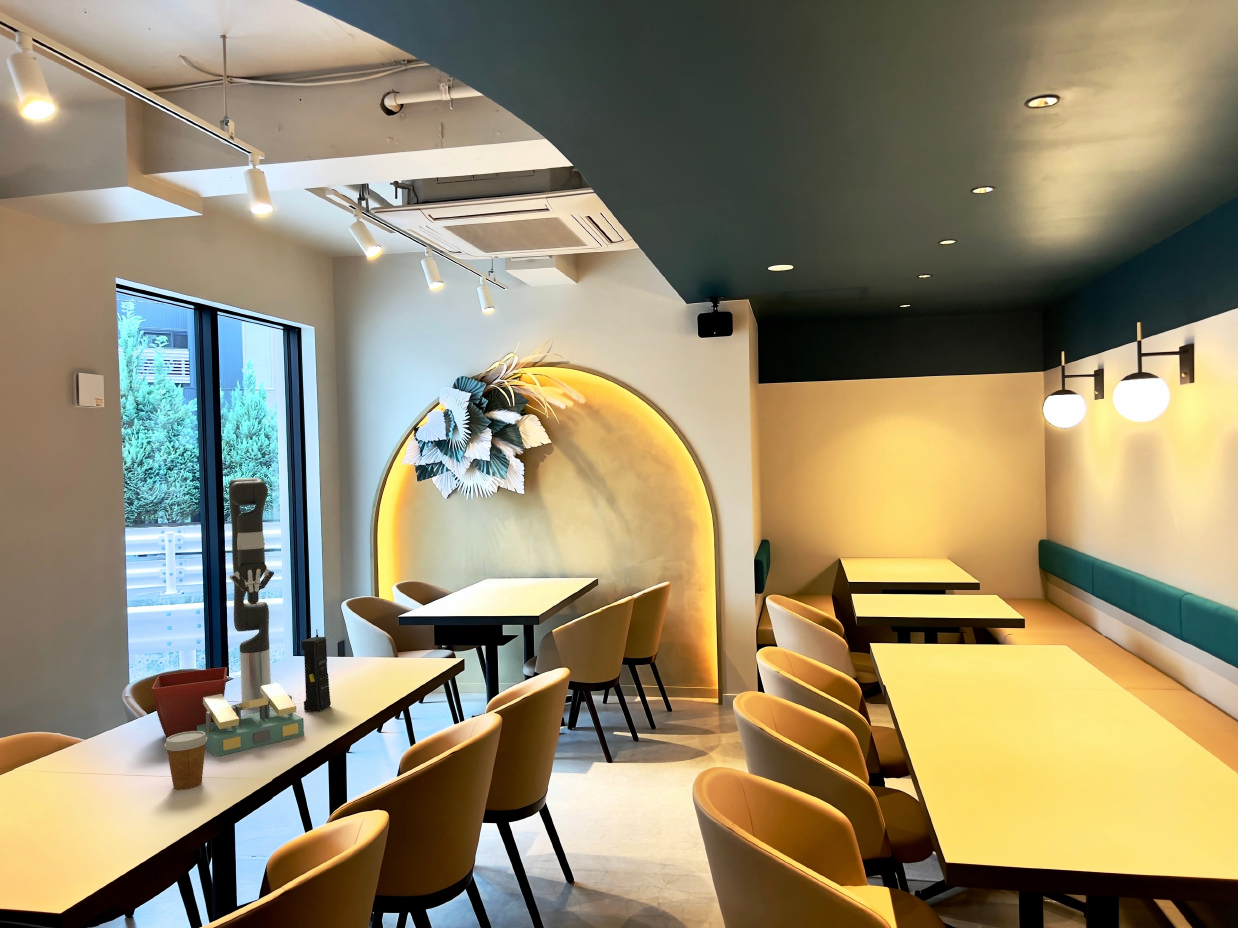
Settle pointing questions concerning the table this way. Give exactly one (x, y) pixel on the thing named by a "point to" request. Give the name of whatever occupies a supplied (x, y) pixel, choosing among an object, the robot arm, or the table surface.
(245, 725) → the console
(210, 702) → the rocker
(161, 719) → the plant pot
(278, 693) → the rocker
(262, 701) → the rocker
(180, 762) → the disposable coffee cup
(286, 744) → the table surface
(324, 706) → the portable radio
